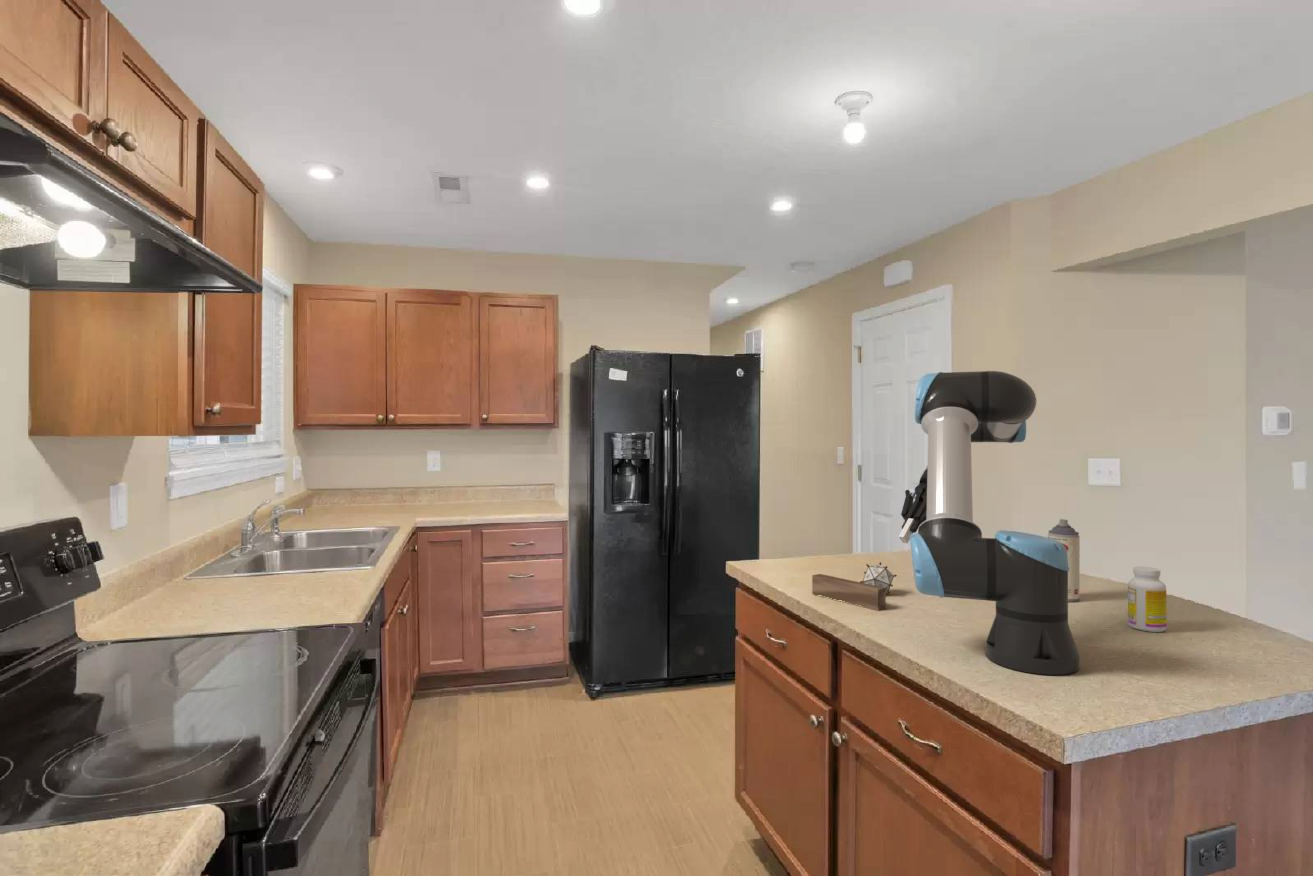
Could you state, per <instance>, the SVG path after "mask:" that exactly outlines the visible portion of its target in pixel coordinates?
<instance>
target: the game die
mask: <svg viewBox="0 0 1313 876" xmlns="http://www.w3.org/2000/svg"><path fill="white" fill-rule="evenodd" d="M866 567H867V568H866V571H863V573H864V576H863V579H862V580H861V581H859V582H860V583H865V584H870V585H874V586H879V587H884V588H886V594H888V593H890V594H891V592H890V591H889V590H890V588H891V587H894V585H893V584H892V583H893V580H894V578H896V577H897V574H892V572H891V571H890V570H889V569H888V565H886V566H883V565H882V562H881V561H880V562H879V563H878V564H875V565H869V563H866Z"/></svg>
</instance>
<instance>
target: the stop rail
mask: <svg viewBox="0 0 1313 876" xmlns="http://www.w3.org/2000/svg"><path fill="white" fill-rule="evenodd" d="M811 581H812V586H811V587H812V589H811V590H812V595H813V594H815V595H814V596H817V595H822V596H825V597H829V598H832V599H831V600H833V599H836V600H835V601H837V600H842V601H845V602H849V603H851V604H850V605H853V604H857V605H861V606H863V607H862V608H865V607H866V609H869V608H870V609H869V610H873V609H875V610H874V611H877V610H879V611H882V610H881V609H883V610H885V609H887V607H886V604H887V603H886V602H887V601H886V600H887V599H886V596H887V595H886V594H887V592H886V588H884V587H879V586H874V585H870V584H865V583H860V581H855V580H850V579H846V578H842V577H837V576H832V575H828V574H822V573H818V574H817V573H816V574H812V580H811ZM825 597H824V598H825ZM829 598H828V599H829ZM845 602H844V603H845ZM849 603H848V604H849ZM857 605H856V606H857ZM861 606H860V607H861Z"/></svg>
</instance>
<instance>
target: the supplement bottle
mask: <svg viewBox="0 0 1313 876" xmlns="http://www.w3.org/2000/svg"><path fill="white" fill-rule="evenodd" d="M1132 570H1133V571H1132V573H1133V575H1134V578H1131V579H1130V580H1129V581H1128V582H1127V622H1128V625H1129V627H1130V628H1133V629H1134V628H1135V629H1136V630H1139V631H1144V632H1149V633H1161V632H1166V630H1167V624H1168V623H1167V621H1168V620H1167V586H1166V584H1165V583H1164V582H1163V581H1161V580H1160V578H1161V569H1159V568H1155V567H1151V566H1150V567H1149V566H1134V567H1133V569H1132Z"/></svg>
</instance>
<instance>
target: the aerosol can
mask: <svg viewBox="0 0 1313 876" xmlns="http://www.w3.org/2000/svg"><path fill="white" fill-rule="evenodd" d="M1068 522H1069V521H1068V519H1063V518H1062V519H1059V522H1058V523H1057V524H1056V525H1055V526H1053V527H1052V529H1050V530H1048V534H1047V538H1050V539H1054V540H1056V541H1059V542H1060V543H1062V544H1063V545H1064V546H1065V547H1066V549H1067V556H1068V567H1069V571H1068V603H1078V601H1079V602H1080V552H1081V551H1080V547H1081V546H1080V542H1081V540H1080V534H1079V532H1077V531H1076V530H1075V528H1073V527H1072V526H1071V525H1070V524H1069V523H1068Z"/></svg>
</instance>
